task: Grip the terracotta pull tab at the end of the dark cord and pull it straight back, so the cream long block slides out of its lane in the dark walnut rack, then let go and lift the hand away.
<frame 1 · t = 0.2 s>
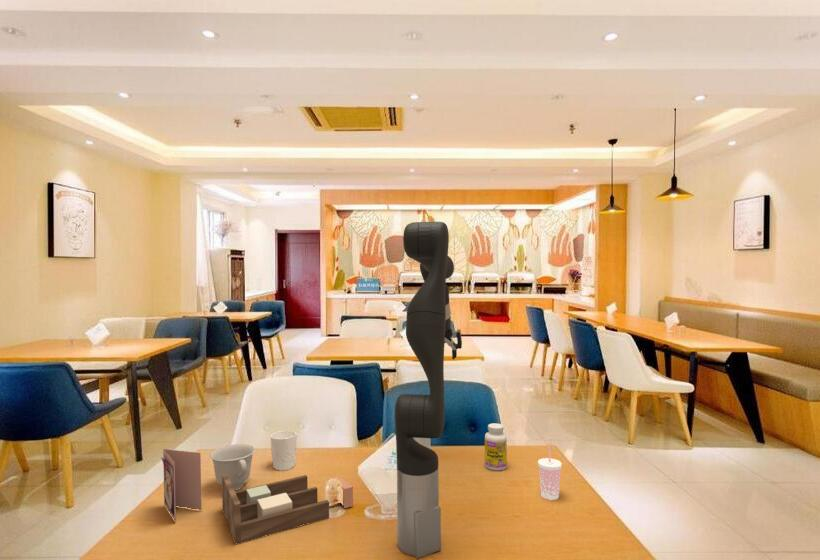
hand: (441, 358, 160), 31 cm above the table, tool tilted 20°, fingers open, 8 cm apart
beverage cup: (549, 496, 126), on the table
teacup: (235, 489, 132), on the table
supplement bottle: (495, 467, 145), on the table
white cup: (284, 466, 147), on the table
skincare box: (420, 460, 151), on the table
cream long block: (306, 502, 118), point 3 cm above the table, slide at 0.0 cm
lane rack: (274, 513, 118), on the table
greeting card: (181, 511, 120), on the table
sage block: (258, 510, 120), resting in lane rack
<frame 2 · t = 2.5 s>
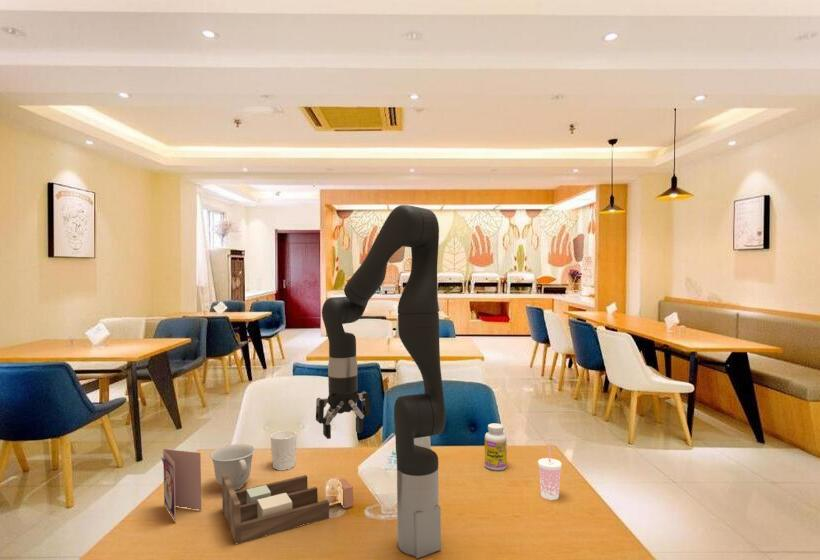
hand: (343, 435, 123), 18 cm above the table, tool pointing down, fingers open, 8 cm apart
nothing on the table moved.
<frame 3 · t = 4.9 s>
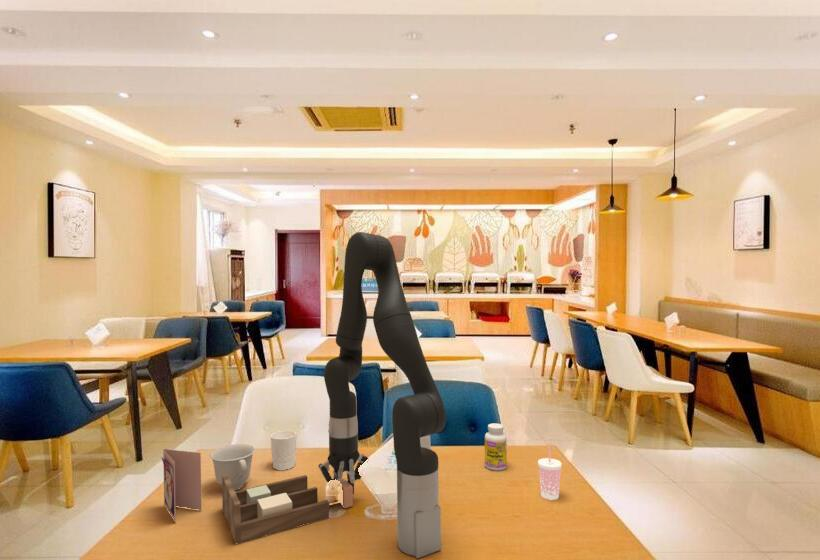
hand: (344, 497, 123), 2 cm above the table, tool pointing down, fingers closed on cream long block, 2 cm apart
cream long block: (306, 502, 118), point 3 cm above the table, slide at 0.0 cm, touching gripper
everything else where it was.
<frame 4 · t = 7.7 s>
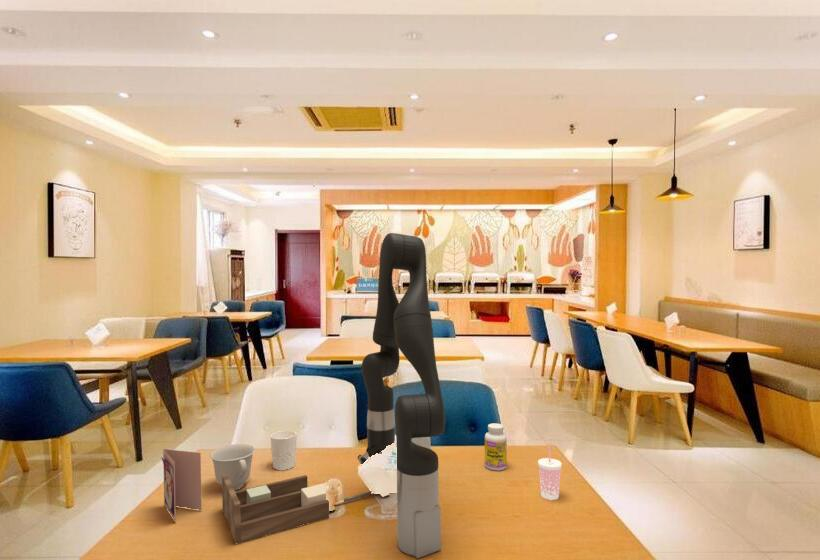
hand: (381, 487, 129), 2 cm above the table, tool pointing down, fingers closed on cream long block, 2 cm apart
cream long block: (346, 492, 123), point 3 cm above the table, slide at 10.9 cm, touching gripper
everything else where it was.
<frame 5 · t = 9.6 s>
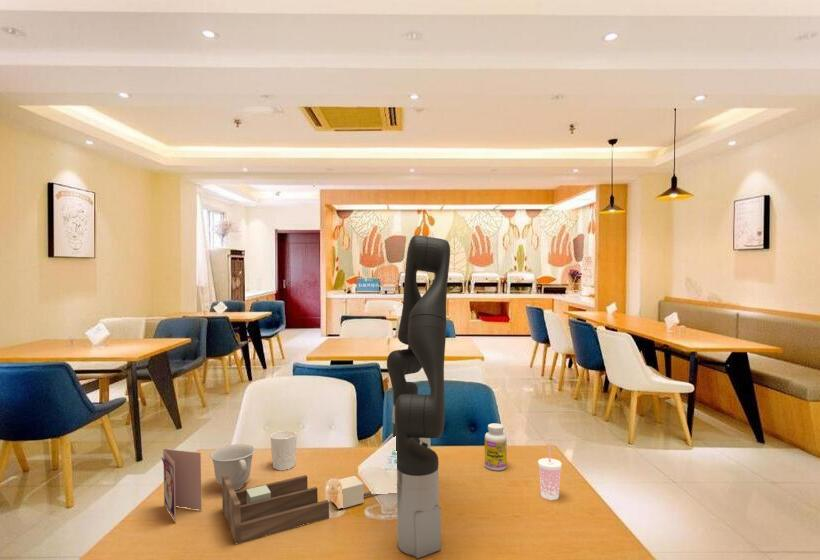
hand: (406, 480, 133), 2 cm above the table, tool pointing down, fingers closed on cream long block, 2 cm apart
cream long block: (373, 485, 127), point 3 cm above the table, slide at 18.8 cm, touching gripper
everything else where it was.
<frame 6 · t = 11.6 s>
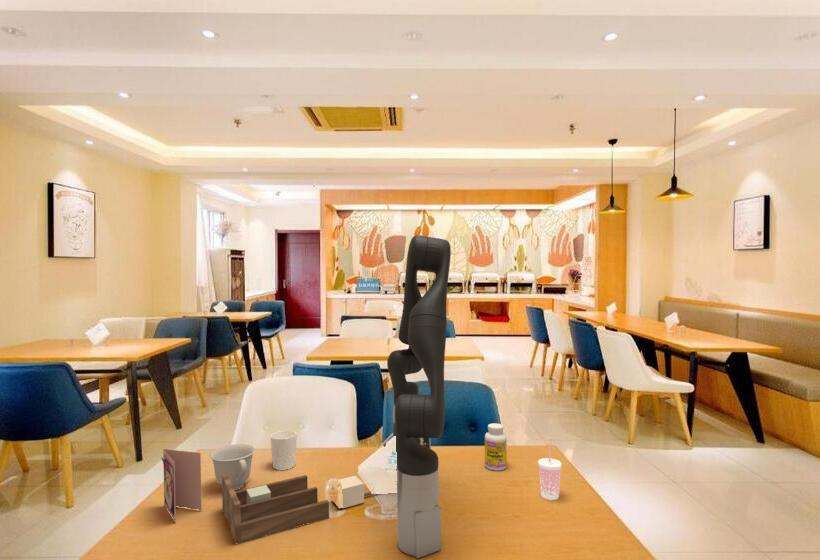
hand: (407, 477, 133), 3 cm above the table, tool pointing down, fingers open, 8 cm apart
cream long block: (374, 484, 128), point 3 cm above the table, slide at 18.9 cm
everything else where it was.
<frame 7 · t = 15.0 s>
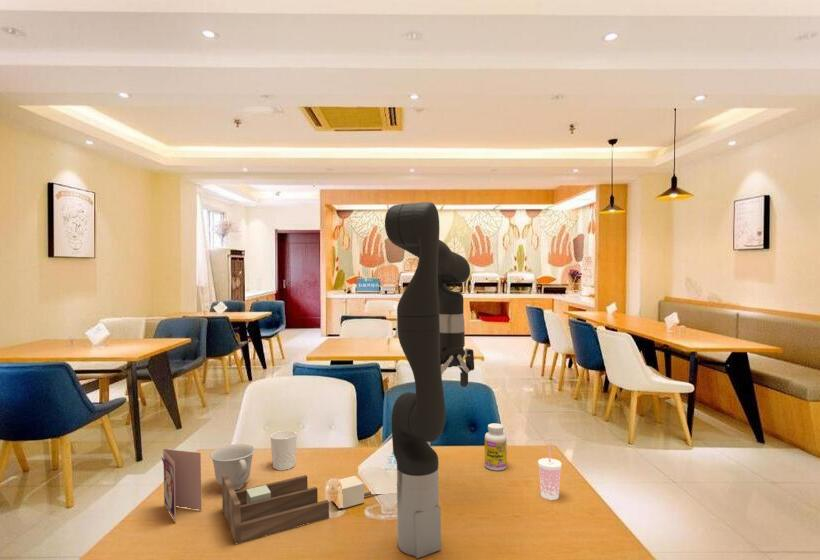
hand: (451, 388, 131), 28 cm above the table, tool pointing down, fingers open, 8 cm apart
nothing on the table moved.
at the end: cream long block slide at 18.9 cm; the gripper is holding nothing; sage block moved 0.1 cm from its start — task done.
